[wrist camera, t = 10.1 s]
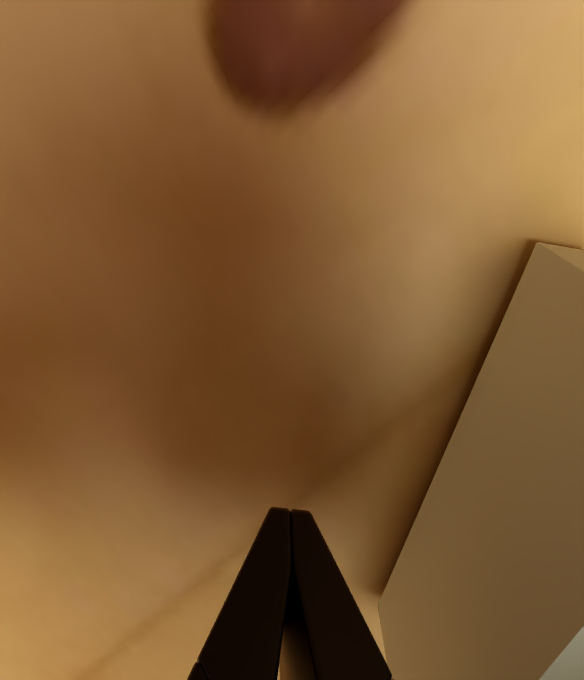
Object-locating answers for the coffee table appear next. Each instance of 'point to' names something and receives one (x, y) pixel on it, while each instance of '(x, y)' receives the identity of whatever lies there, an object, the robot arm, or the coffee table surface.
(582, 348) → the tray
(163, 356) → the coffee table surface
